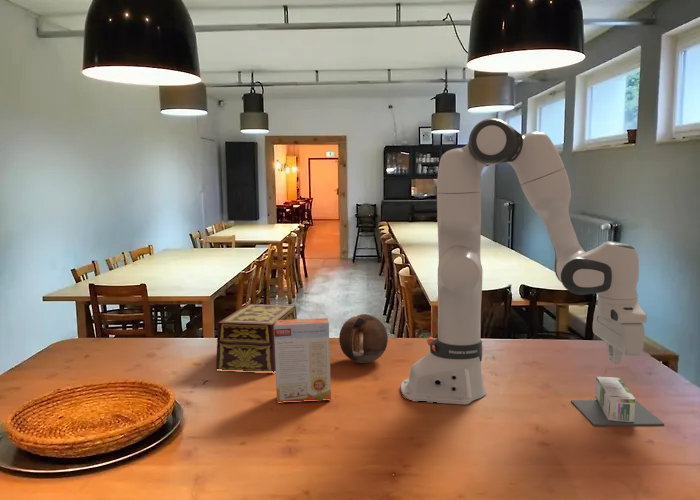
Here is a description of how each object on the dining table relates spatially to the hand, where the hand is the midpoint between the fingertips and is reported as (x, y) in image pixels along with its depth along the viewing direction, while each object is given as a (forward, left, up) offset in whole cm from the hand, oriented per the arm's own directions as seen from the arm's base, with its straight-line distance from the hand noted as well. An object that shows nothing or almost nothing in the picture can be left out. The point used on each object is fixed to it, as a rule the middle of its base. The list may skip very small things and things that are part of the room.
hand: (614, 362), depth 142 cm
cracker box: (-78, +5, -11) cm, 79 cm away
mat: (-2, -6, -11) cm, 12 cm away
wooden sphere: (-62, +34, -11) cm, 72 cm away
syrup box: (-1, +2, -7) cm, 8 cm away
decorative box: (-95, +39, -11) cm, 103 cm away
